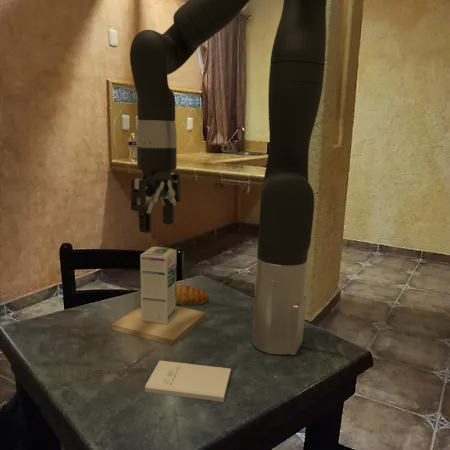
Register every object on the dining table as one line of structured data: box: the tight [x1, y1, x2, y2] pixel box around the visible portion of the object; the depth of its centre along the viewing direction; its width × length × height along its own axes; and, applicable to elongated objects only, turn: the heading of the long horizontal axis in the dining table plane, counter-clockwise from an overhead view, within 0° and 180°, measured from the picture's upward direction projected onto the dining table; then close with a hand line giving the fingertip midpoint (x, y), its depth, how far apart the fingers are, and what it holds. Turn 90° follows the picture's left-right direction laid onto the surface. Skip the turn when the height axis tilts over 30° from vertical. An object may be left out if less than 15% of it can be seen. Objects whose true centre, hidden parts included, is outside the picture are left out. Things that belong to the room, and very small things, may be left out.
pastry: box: [176, 284, 209, 306], centre depth 103 cm, size 9×7×4 cm
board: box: [111, 305, 207, 346], centre depth 91 cm, size 14×14×1 cm
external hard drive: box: [144, 360, 232, 403], centre depth 71 cm, size 2×8×12 cm
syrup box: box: [139, 246, 178, 324], centre depth 89 cm, size 6×6×14 cm
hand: (157, 227), depth 87 cm, fingers open, 8 cm apart
